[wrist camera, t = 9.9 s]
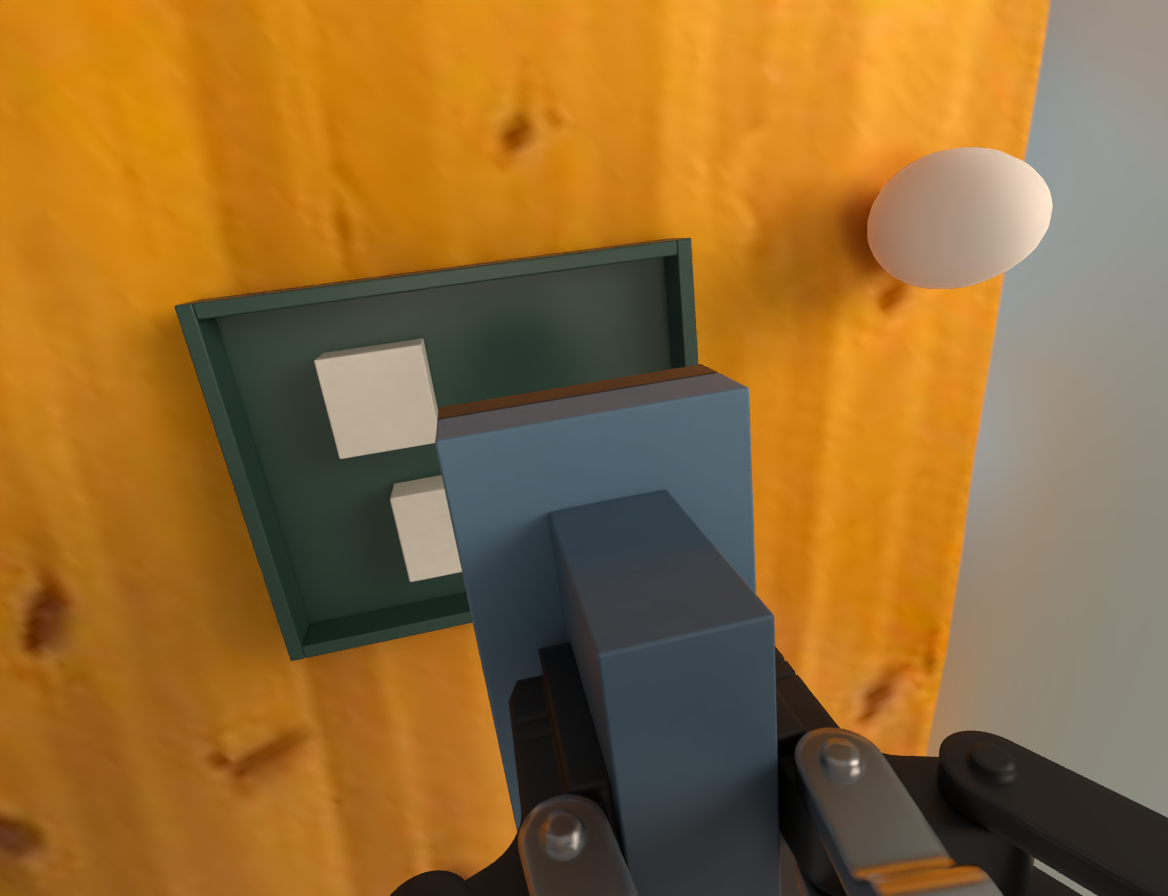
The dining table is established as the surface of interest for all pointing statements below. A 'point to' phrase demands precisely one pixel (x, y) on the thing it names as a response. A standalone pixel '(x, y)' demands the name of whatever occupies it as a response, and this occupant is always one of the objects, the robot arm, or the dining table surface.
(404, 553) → the beige square tile
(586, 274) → the tray
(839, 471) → the dining table surface
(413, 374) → the cream slab tile
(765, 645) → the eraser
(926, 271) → the egg
